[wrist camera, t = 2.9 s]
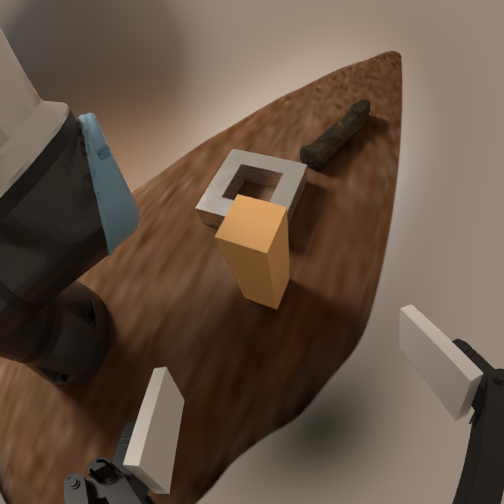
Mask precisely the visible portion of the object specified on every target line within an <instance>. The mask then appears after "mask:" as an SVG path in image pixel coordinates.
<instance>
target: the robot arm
mask: <svg viewBox="0 0 504 504" xmlns="http://www.w3.org/2000/svg"><path fill="white" fill-rule="evenodd" d="M139 219H140V216H139V210H138V208H137V205H136V203H135V201H134V199H133V196H132V194H131V192H130V190H129V188H128V186H127V184H126V182H125V180H124V178H123V176H122V173H121V171H120V169H119V167H118V165H117V163H116V161H115V158H114V156H113V155H112V153H111V150H110V148H109V146H108V144H107V141H106V138H105V136H104V134H103V131H102V129H101V127H100V125H99V123H98V120H97V119H96V116H95V115H94V114H93V113H88V114H86V115H84V114H82V115H81V116H80V117H79V119H78V120H77V119H76V118H75V116H74V115H73V113H72V112H71V110H70V108H69V107H68V105H67V104H66V103H59V102H48V101H43V100H42V99H41V98H39V96H38V94H37V93H36V91H35V89H34V88H33V87H32V84H31V83H30V81H29V79H28V78H27V76H26V75H25V73H24V71H23V69H22V67H21V65H20V64H19V62H18V60H17V58H16V56H15V54H14V53H13V51H12V49H11V47H10V45H9V43H8V41H7V39H6V37H5V35H4V33H3V31H2V29H1V27H0V357H3V358H6V359H9V360H12V361H16V362H20V363H23V364H25V365H26V366H27V367H29V368H30V369H31V370H33V371H34V372H36V373H37V374H38V375H40V376H41V377H43V378H44V379H46V380H47V381H49V382H51V383H54V384H57V385H63V386H77V385H80V384H83V383H84V382H86V381H87V380H89V379H90V378H91V377H92V376H93V375H94V374H95V372H96V371H97V370H98V368H99V366H100V365H101V363H102V360H103V358H104V355H105V352H106V348H107V343H108V319H107V314H106V311H105V308H104V305H103V303H102V301H101V300H100V298H99V297H98V295H97V294H96V293H95V292H94V291H92V290H91V289H90V288H88V287H86V286H85V285H83V284H82V283H80V282H77V281H75V280H77V279H78V278H79V277H80V276H82V275H83V274H84V273H85V272H87V271H88V270H89V269H90V268H92V267H93V266H94V265H96V264H97V263H98V262H99V261H101V260H102V259H103V258H105V257H106V256H107V255H111V254H112V253H113V251H114V249H115V248H116V247H117V246H118V245H119V244H121V243H122V242H123V241H124V240H125V239H127V238H128V237H129V236H130V235H132V234H133V233H134V231H135V230H136V228H137V226H138V223H139ZM399 348H400V349H401V350H402V351H403V352H404V354H405V355H406V356H407V358H408V359H409V360H410V361H411V363H412V364H413V365H414V367H415V368H416V369H417V370H418V372H419V373H420V374H421V375H422V377H423V378H424V379H425V381H426V382H427V383H428V384H429V386H430V387H431V388H432V390H433V391H434V392H435V394H436V395H437V396H438V398H439V399H440V400H441V402H442V403H443V404H444V406H445V407H446V409H447V410H448V411H449V413H450V414H451V415H452V417H453V418H454V419H455V421H457V420H459V419H460V418H462V417H463V416H465V415H467V414H468V412H469V410H470V408H471V406H472V407H473V408H474V410H475V411H474V413H473V415H472V418H471V420H470V422H469V424H471V423H472V427H471V433H470V438H469V444H468V449H467V454H466V458H465V463H464V467H463V471H462V474H461V478H460V481H459V485H458V488H457V491H456V495H455V498H454V501H453V503H452V504H500V503H501V500H502V495H503V491H504V369H494V368H493V367H492V366H491V365H490V364H489V363H488V362H487V361H485V360H484V358H483V357H481V356H480V355H479V354H477V352H476V351H475V350H474V349H472V347H471V346H470V345H469V344H467V343H466V342H465V341H462V340H460V339H456V340H454V341H450V340H449V339H448V338H447V337H446V336H445V335H444V334H443V333H442V332H441V331H440V330H439V329H438V328H437V327H436V326H434V325H433V324H432V323H431V322H430V321H429V320H428V319H427V318H426V317H425V316H424V315H422V314H421V313H420V312H419V311H418V310H417V309H416V308H415V307H414V306H412V305H408V306H405V307H403V308H400V331H399ZM183 406H184V399H183V397H182V395H181V393H180V391H179V390H178V388H177V386H176V384H175V382H174V380H173V378H172V376H171V375H170V373H169V371H168V369H167V367H161V368H154V371H153V373H152V376H151V379H150V382H149V385H148V388H147V391H146V394H145V396H144V399H143V402H142V405H141V408H140V411H139V415H138V418H137V421H136V422H128V423H127V425H126V426H125V427H124V428H123V431H122V434H121V436H120V437H121V438H120V439H119V442H118V443H119V445H117V448H116V451H115V454H114V457H113V460H112V462H111V461H110V460H109V459H108V458H105V457H99V458H96V459H94V460H93V461H91V462H90V464H89V465H88V469H87V472H88V475H89V476H91V477H92V478H87V479H85V478H84V477H83V476H82V475H80V474H78V473H74V474H71V475H69V476H68V477H67V478H66V479H65V481H64V497H65V504H155V502H154V501H153V500H152V498H151V497H150V496H149V495H148V494H147V493H148V488H149V489H150V490H151V491H152V492H154V493H159V494H169V492H170V485H171V479H172V472H173V465H174V459H175V453H176V447H177V441H178V435H179V429H180V423H181V417H182V412H183Z"/></svg>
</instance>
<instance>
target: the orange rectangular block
mask: <svg viewBox="0 0 504 504" xmlns="http://www.w3.org/2000/svg"><path fill="white" fill-rule="evenodd" d="M215 238H216V240H217V243H218V245H219V247H220V249H221V251H222V253H223V255H224V257H225V259H226V261H227V263H228V265H229V267H230V269H231V271H232V273H233V275H234V277H235V280H236V282H237V284H238V286H239V288H240V290H241V292H242V294H243V296H244V298H246V299H249V300H252V301H255V302H257V303H260V304H263V305H266V306H268V307H271V308H274V309H278V306H279V304H280V301H281V299H282V296H283V294H284V291H285V289H286V286H287V284H288V281H289V279H290V274H289V243H288V219H287V207H285V206H281V205H277V204H273V203H270V202H266V201H262V200H258V199H254V198H251V197H247V196H243V195H239V194H238V195H237V197H236V198H235V200H234V202H233V204H232V206H231V207H230V209H229V211H228V213H227V215H226V217H225V219H224V220H223V222H222V224H221V226H220V228H219V230H218V232H217V233H216V235H215Z"/></svg>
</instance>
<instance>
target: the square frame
mask: <svg viewBox="0 0 504 504" xmlns="http://www.w3.org/2000/svg"><path fill="white" fill-rule="evenodd" d="M244 181H249V182H253V183H257V184H261V185H266V186H270V187H274V188H276V189H275V192H274V194H273V196H272V198H271V200H270V203H273V204H277V205H281V206H285V207H287V219H288V227H289V224H290V222H291V219H292V217H293V214H294V212H295V210H296V207H297V205H298V202H299V200H300V197H301V195H302V192H303V190H304V187H305V185H306V182H307V165H306V164H302V163H298V162H294V161H289V160H285V159H280V158H276V157H271V156H266V155H261V154H256V153H251V152H246V151H241V150H235V149H232V151H231V152H230V154H229V155H228V157H227V158H226V160H225V161H224V163H223V164H222V166H221V168H220V169H219V171H218V172H217V174H216V175H215V177H214V179H213V180H212V182H211V183H210V185H209V187H208V188H207V190H206V191H205V193H204V195H203V196H202V198H201V200H200V201H199V203H198V205H197V206H196V210H197V212H198V214H199V216H200V219H201V220H202V222H203V223H204V224H207V225H211V226H214V227H217V228H220V226H221V224H222V222H223V220H224V219H225V217H226V215H227V213H228V211H229V209H230V207H231V206H232V204H233V202H234V199H235V198H236V196H237V194H238V192H239V190H240V189H241V187H242V185H243V183H244Z"/></svg>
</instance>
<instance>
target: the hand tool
mask: <svg viewBox="0 0 504 504" xmlns="http://www.w3.org/2000/svg"><path fill="white" fill-rule="evenodd" d="M369 112H370V101H368V100H364V99H362V100H360V101H359V102H357V103H355V104H353V105H352V106H351V107H350V108H349V112H348V113H346V114H345V116H343V117H342V118H341V119H340V120H338V121H337V122H336V123H335V124H333V125H332V126H331V127H330V128H329V129H327V130H326V131H325V132H324V133H323V134H321V135H320V136H319V137H318V138H317V139H316V140H315V141H313V142H312V143H311V144H310V145H308V146H306V147H304V146H303V147H302V148H301V150H300V159H301V160H302V162H303V164H306V165H307V166H308V167H309V168H311V169H313V170H315V171H320V170H321V169H322V166H323V165H325V164H326V162H327V161H328V159H329V158H330V157H331V156H332V155H333V154H334V153H335V152H336V151H337V150H338V149H339V148H340V147H341V146H343V144H344V143H345V142H346V141H347V140H348V139H349V138H350V137H351V136H352V135H353V134H354V133H355V132H357V131H360V130H361V129H362V128H363V127H364V125H365V123H366V121H367V119H368V116H369Z"/></svg>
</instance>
